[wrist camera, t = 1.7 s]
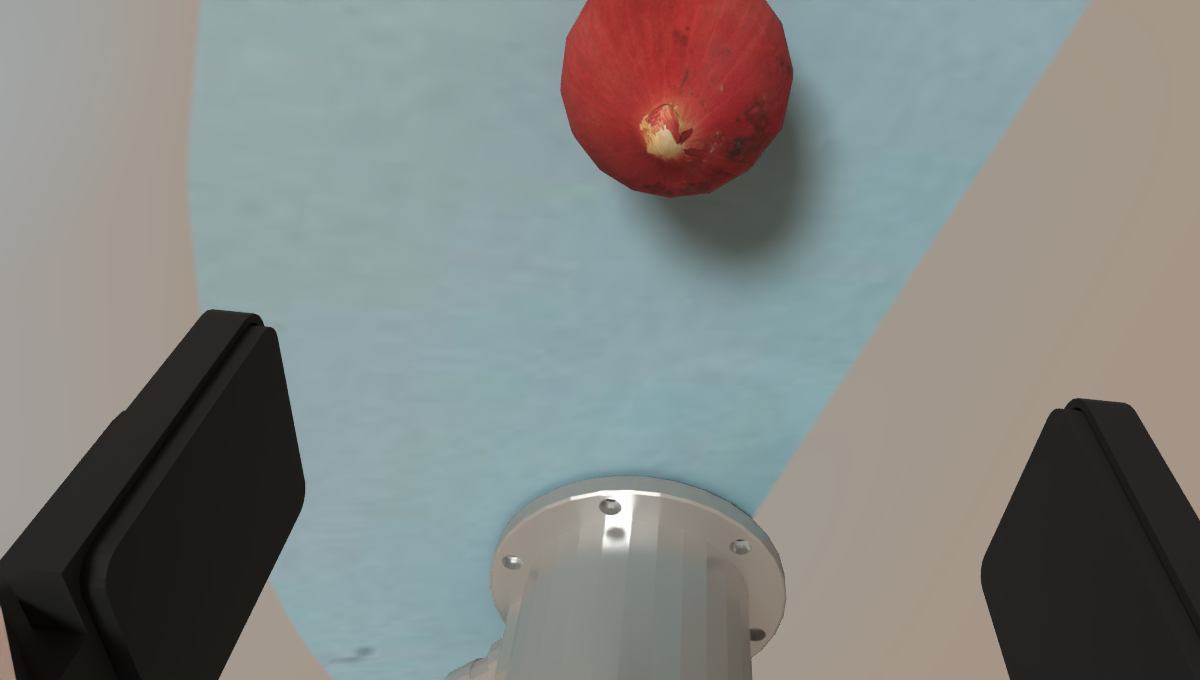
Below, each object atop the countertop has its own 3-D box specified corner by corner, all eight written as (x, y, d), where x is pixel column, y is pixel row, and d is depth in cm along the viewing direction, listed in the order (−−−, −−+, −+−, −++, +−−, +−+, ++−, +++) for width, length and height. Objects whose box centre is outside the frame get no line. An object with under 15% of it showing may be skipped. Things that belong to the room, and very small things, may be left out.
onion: (823, 3, 25) (864, 107, 19) (707, 165, 28) (707, 303, 22) (645, -116, 24) (622, -48, 17) (543, 68, 27) (493, 184, 21)
